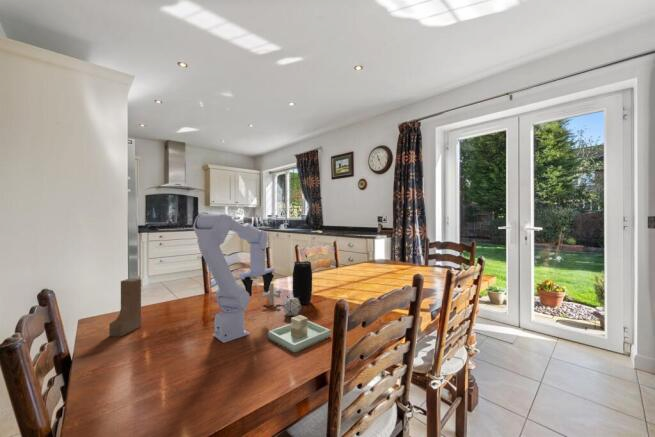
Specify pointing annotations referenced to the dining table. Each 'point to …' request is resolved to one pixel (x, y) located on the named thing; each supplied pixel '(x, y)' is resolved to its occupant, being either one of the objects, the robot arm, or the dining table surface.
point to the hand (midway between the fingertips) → (257, 293)
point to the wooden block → (128, 309)
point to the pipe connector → (271, 293)
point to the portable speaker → (302, 281)
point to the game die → (292, 306)
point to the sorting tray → (294, 344)
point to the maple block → (299, 326)
